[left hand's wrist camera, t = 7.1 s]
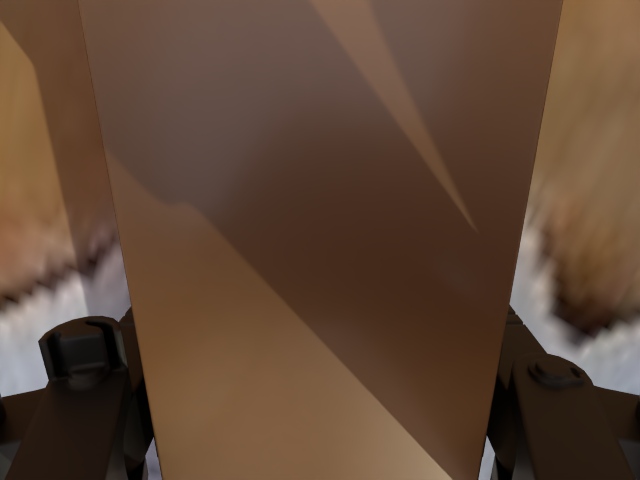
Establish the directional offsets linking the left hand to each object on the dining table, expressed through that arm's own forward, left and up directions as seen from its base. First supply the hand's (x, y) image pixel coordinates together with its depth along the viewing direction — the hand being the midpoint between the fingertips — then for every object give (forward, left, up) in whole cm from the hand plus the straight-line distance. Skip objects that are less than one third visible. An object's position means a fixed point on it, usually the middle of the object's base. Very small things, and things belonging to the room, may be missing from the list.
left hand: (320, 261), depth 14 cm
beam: (+14, +10, -1) cm, 18 cm away
